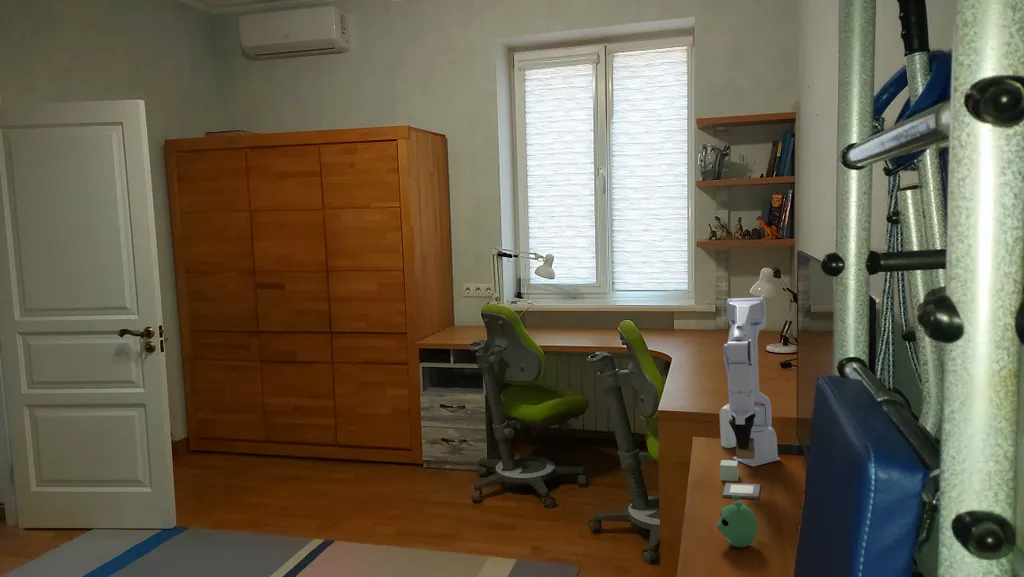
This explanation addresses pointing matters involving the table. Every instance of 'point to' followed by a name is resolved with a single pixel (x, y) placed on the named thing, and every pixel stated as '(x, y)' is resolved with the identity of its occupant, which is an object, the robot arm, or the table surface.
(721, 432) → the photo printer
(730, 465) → the sage block
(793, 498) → the table surface
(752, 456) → the walnut block
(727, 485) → the grey flat square tile
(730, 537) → the alien toy
